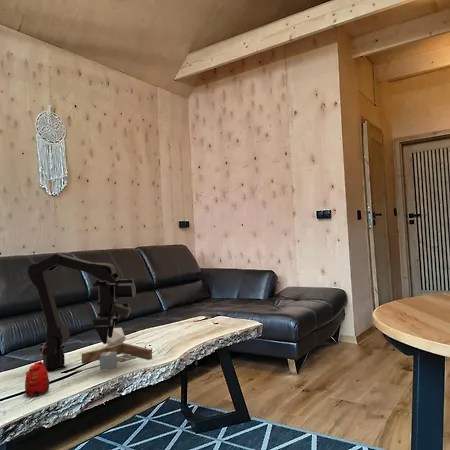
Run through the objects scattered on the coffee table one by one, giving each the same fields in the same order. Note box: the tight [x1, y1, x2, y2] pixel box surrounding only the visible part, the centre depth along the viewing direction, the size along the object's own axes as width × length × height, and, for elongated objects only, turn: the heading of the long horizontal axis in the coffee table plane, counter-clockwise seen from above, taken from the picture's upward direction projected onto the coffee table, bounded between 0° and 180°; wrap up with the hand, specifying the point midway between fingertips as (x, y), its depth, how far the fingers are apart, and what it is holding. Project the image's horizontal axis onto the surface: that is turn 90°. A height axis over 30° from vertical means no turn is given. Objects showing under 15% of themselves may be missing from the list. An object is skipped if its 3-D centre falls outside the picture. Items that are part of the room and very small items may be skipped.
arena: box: [81, 342, 153, 364], centre depth 160 cm, size 19×19×4 cm
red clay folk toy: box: [24, 342, 50, 397], centre depth 129 cm, size 8×7×15 cm
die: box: [106, 327, 127, 347], centre depth 183 cm, size 8×9×10 cm
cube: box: [99, 352, 118, 370], centre depth 153 cm, size 5×5×5 cm
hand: (107, 340), depth 153 cm, fingers open, 9 cm apart
